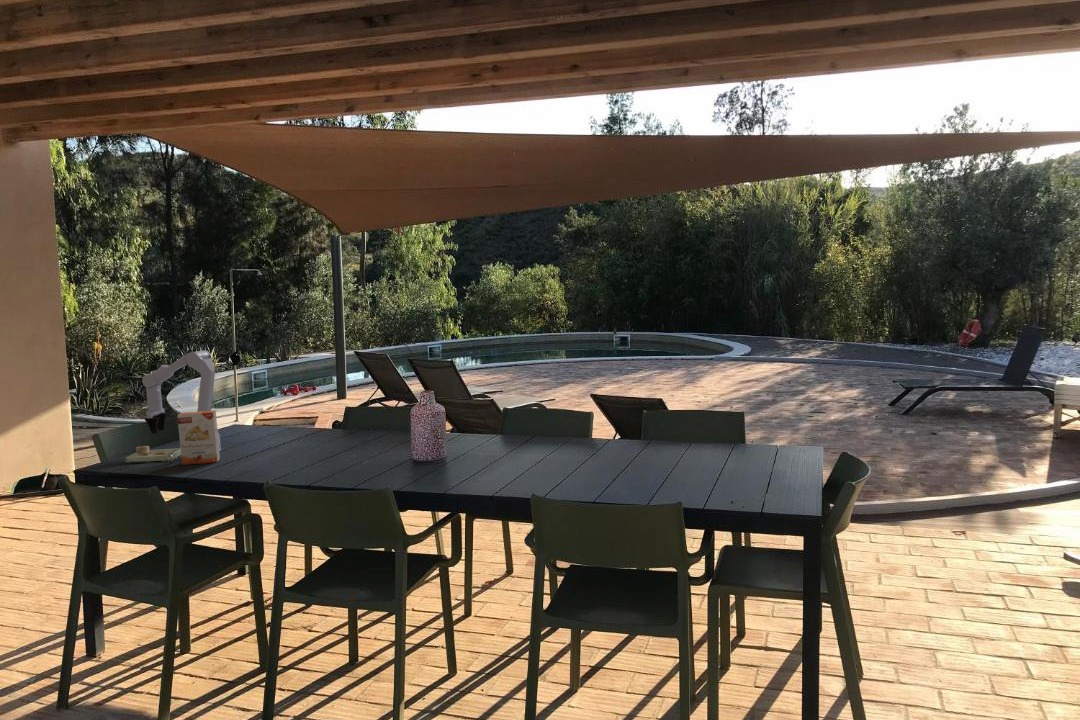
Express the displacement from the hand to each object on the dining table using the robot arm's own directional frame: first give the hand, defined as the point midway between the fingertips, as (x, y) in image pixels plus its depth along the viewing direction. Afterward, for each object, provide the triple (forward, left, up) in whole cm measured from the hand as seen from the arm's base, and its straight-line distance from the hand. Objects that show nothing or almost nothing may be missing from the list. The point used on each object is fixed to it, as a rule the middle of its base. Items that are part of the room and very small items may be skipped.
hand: (157, 431), depth 384 cm
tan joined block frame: (-3, +12, -9) cm, 16 cm away
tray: (-3, +13, -9) cm, 16 cm away
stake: (-14, +25, -9) cm, 30 cm away
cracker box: (-27, +27, -10) cm, 39 cm away
